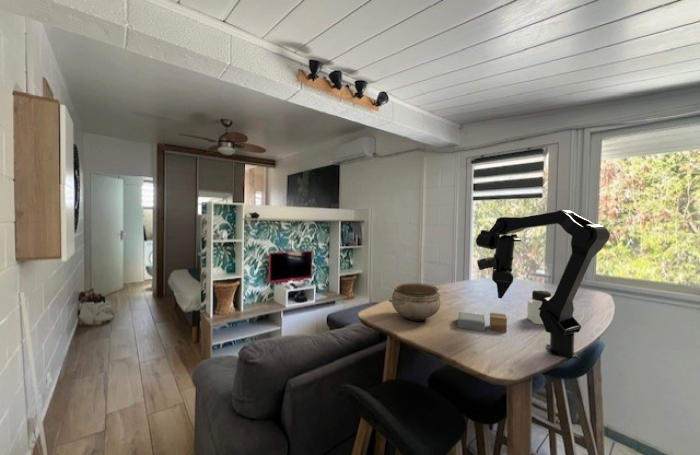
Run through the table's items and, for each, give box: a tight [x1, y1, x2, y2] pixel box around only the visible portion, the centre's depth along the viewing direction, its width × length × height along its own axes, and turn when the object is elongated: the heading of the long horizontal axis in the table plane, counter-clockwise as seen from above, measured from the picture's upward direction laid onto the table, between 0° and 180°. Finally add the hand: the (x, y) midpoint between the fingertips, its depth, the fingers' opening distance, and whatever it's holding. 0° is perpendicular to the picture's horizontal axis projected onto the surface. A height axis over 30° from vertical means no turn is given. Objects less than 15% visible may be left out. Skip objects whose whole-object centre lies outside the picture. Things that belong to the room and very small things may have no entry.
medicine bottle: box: [526, 289, 552, 326], centre depth 112 cm, size 7×7×12 cm
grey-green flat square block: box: [457, 311, 486, 332], centre depth 108 cm, size 9×9×3 cm
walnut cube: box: [489, 312, 508, 333], centre depth 104 cm, size 5×5×5 cm
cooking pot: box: [388, 282, 441, 322], centre depth 115 cm, size 25×19×12 cm
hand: (499, 294), depth 105 cm, fingers open, 9 cm apart
